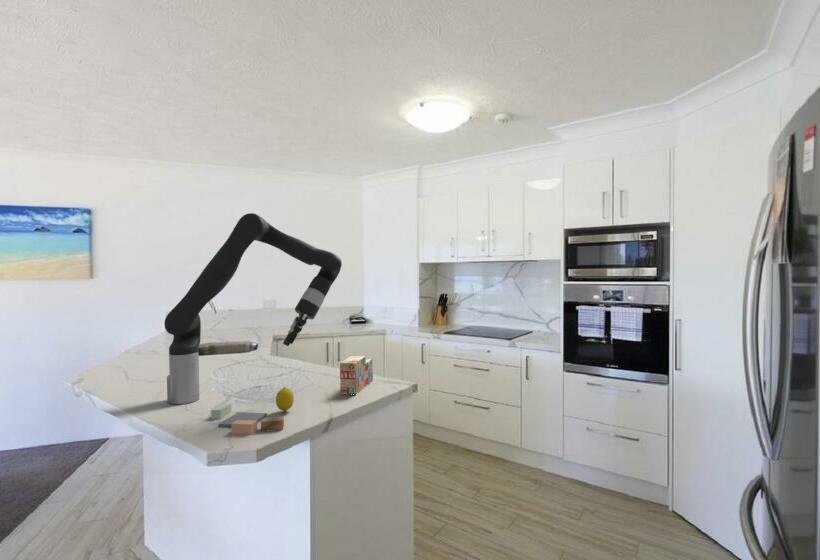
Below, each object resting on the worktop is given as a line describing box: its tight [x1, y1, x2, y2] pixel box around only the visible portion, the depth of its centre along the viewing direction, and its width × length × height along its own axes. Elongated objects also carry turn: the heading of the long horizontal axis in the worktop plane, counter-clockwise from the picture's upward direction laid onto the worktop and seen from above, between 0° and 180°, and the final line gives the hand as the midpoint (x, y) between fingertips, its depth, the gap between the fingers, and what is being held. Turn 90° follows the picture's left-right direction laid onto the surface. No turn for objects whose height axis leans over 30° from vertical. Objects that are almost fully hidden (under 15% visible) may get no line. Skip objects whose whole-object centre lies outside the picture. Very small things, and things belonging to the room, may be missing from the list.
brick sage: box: [210, 403, 232, 420], centre depth 125 cm, size 6×3×3 cm, turn 173°
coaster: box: [218, 411, 268, 428], centre depth 120 cm, size 10×10×1 cm
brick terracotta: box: [230, 420, 258, 435], centre depth 111 cm, size 6×3×3 cm, turn 83°
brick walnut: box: [260, 416, 285, 432], centre depth 113 cm, size 6×3×3 cm, turn 102°
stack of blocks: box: [339, 355, 374, 396], centre depth 155 cm, size 21×6×12 cm, turn 169°
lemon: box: [275, 386, 295, 413], centre depth 127 cm, size 6×6×8 cm
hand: (287, 343), depth 133 cm, fingers open, 8 cm apart
